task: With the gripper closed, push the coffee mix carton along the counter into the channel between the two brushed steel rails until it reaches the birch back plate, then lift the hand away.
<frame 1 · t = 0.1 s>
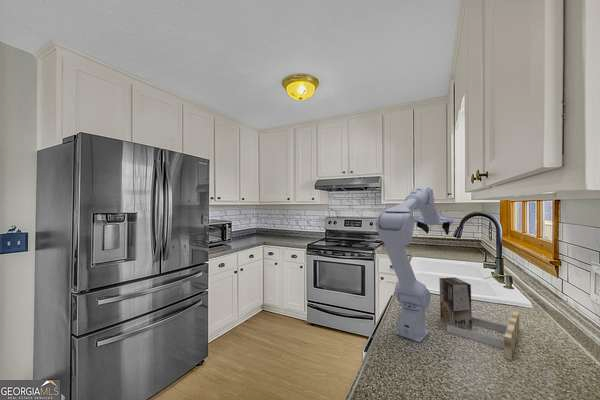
hand: (437, 232, 107), 32 cm above the counter, tool tilted 50°, fingers open, 7 cm apart
coffee box: (455, 326, 91), on the counter
rails: (490, 335, 84), on the counter
back plate: (512, 332, 80), on the counter
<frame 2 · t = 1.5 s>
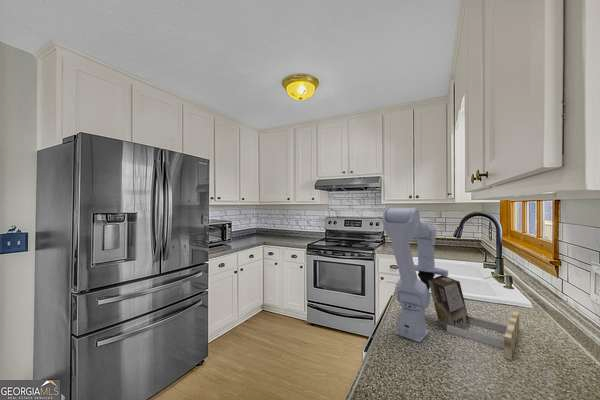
hand: (426, 291, 98), 10 cm above the counter, tool pointing down, fingers closed
coffee box: (453, 324, 91), on the counter, touching gripper, rails
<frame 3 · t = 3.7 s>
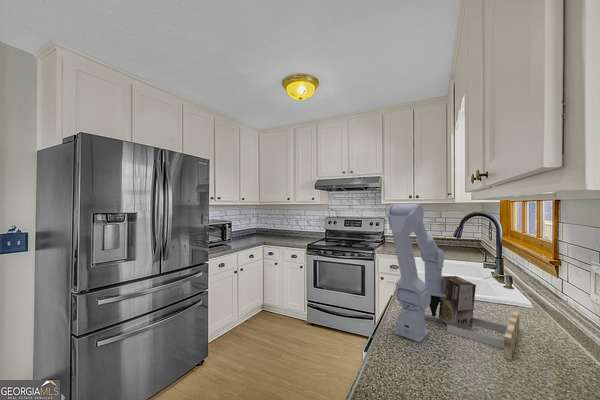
hand: (434, 315, 96), 2 cm above the counter, tool pointing down, fingers closed, pressing on coffee box
coffee box: (454, 324, 92), on the counter, touching arm, gripper
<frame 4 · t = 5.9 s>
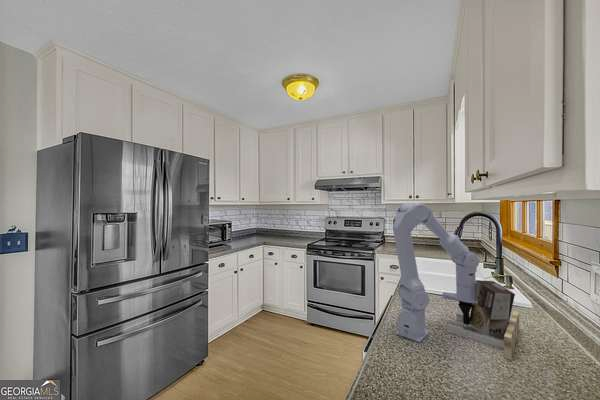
hand: (466, 323, 89), 2 cm above the counter, tool pointing down, fingers closed, pressing on coffee box
coffee box: (486, 332, 85), point 1 cm above the counter, touching arm, back plate, gripper
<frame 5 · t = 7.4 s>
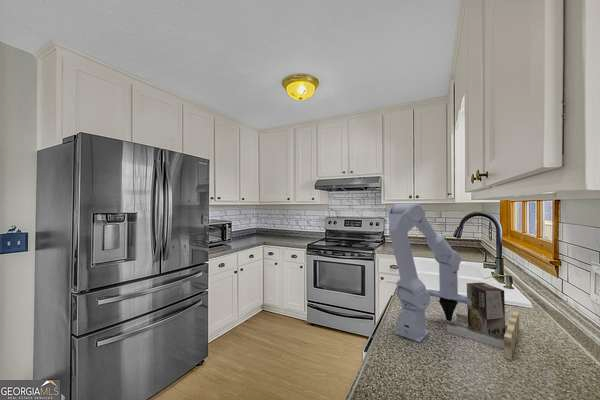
hand: (449, 319, 92), 2 cm above the counter, tool pointing down, fingers closed
coffee box: (485, 335, 85), on the counter
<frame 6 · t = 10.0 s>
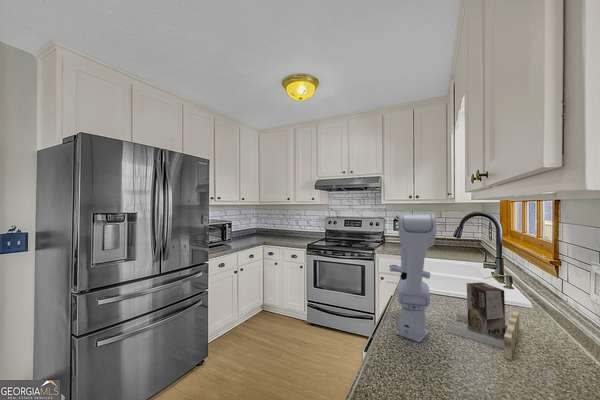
hand: (409, 292, 98), 9 cm above the counter, tool pointing down, fingers closed
nothing on the counter moved.
at the end: coffee box 1.4 cm from the target spot, on the counter; coffee box tilted 0°; coffee box moved 8.9 cm from its start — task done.
